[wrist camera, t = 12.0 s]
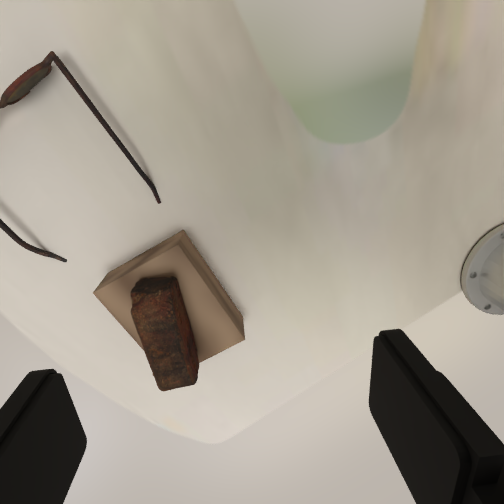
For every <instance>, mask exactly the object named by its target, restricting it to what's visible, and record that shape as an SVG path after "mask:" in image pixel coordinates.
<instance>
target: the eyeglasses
mask: <svg viewBox="0 0 504 504" xmlns="http://www.w3.org/2000/svg"><path fill="white" fill-rule="evenodd" d="M52 61H54V62H55V64H56V65H57V66H58V67H59V69H60V70H61V71H62V73H63V74H64V75H65V77H66V78H67V79H68V81H69V82H70V83H71V85H72V86H73V87H74V89H75V90H76V91H77V93H78V94H79V95H80V97H81V98H82V99H83V101H84V102H85V103H86V105H87V106H88V107H89V108H90V110H91V111H92V112H93V114H94V115H95V116H96V118H97V119H98V120H99V122H100V123H101V124H102V126H103V127H104V128H105V129H106V131H107V132H108V133H109V135H110V136H111V137H112V139H113V140H114V141H115V143H116V144H117V145H118V146H119V148H120V149H121V150H122V152H123V153H124V154H125V156H126V157H127V158H128V160H129V161H130V162H131V164H132V165H133V166H134V168H135V169H136V170H137V172H138V173H139V174H140V175H141V177H142V178H143V179H144V180H145V182H146V183H147V184H148V185H149V187H150V188H151V190H152V192H153V194H154V196H155V198H156V200H157V203H158V204H160V203H161V201H160V198H159V196H158V193H157V191H156V188H155V186H154V184H153V183H152V182H151V180H150V179H149V178H148V177H147V175H146V174H145V173H144V172H143V171H142V169H141V168H140V167H139V165H138V164H137V163H136V161H135V160H134V158H133V157H132V156H131V154H130V153H129V152H128V150H127V149H126V148H125V146H124V145H123V144H122V142H121V141H120V140H119V138H118V137H117V136H116V134H115V133H114V132H113V130H112V129H111V128H110V126H109V125H108V124H107V122H106V121H105V119H104V118H103V117H102V115H101V114H100V113H99V111H98V110H97V109H96V107H95V106H94V105H93V103H92V102H91V100H90V99H89V98H88V96H87V95H86V94H85V92H84V91H83V90H82V88H81V87H80V85H79V84H78V83H77V81H76V80H75V79H74V77H73V76H72V75H71V73H70V72H69V71H68V69H67V68H66V67H65V65H64V64H63V63H62V61H61V60H60V59H59V57H58V56H56V54H55V53H54V52H53V51H51V52H50V53H49V54H48V55H47V56H46V57H45V59H44V60H43V61H42V62H41V63H39V64H37V65H35V66H34V67H32V68H30V69H29V70H27V71H26V72H24V73H23V74H22V75H21V76H20V77H19V78H17V79H16V80H15V81H14V82H13V83H12V84H11V85H10V86H9V87H8V88H7V89H6V90H5V91H4V93H3V94H2V96H1V100H0V108H4V107H6V106H7V105H12V104H14V103H16V102H18V101H19V100H21V99H22V98H23V97H25V96H26V95H27V94H28V93H30V90H31V89H32V88H33V87H35V86H36V85H37V84H38V83H39V82H40V81H41V80H42V79H43V78H44V77H45V76H47V75H48V74H49V73H50V71H51V68H52V66H51V63H52ZM0 228H1V229H3V230H4V231H5V232H6V233H7V234H8V235H9V236H10V237H11V238H12V239H13V240H14V241H16V242H17V243H18V244H19V245H21V246H22V247H24V248H26V249H27V250H30V251H32V252H35V253H37V254H40V255H43V256H46V257H51V258H55V259H57V260H60V261H63V262H67V259H64V258H62V257H60V256H58V255H56V254H53V253H51V252H47V251H44V250H42V249H39V248H37V247H34V246H32V245H30V244H28V243H26V242H25V241H23V240H22V239H21V238H20V237H18V236H17V235H16V234H15V233H14V232H13V231H12V230H11V229H10V228H9V227H8V226H7V225H6V224H5V223H4V222H3V221H2V220H1V219H0Z"/></svg>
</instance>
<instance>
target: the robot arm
mask: <svg viewBox="0 0 504 504" xmlns="http://www.w3.org/2000/svg"><path fill="white" fill-rule="evenodd" d="M461 284H462V289H463V292H464V294H465V296H466V298H467V299H468V300H469V302H470V303H471V304H473V305H474V306H475V307H477V308H478V309H479V310H482V311H483V312H486V313H490V314H499V315H502V314H504V224H502V225H500V226H498V227H497V228H495V229H494V230H492V231H490V232H489V233H488V234H487V235H486V236H484V237H483V238H482V239H481V240H480V241H479V242H478V243H477V244H476V246H475V247H474V248H473V249H472V251H471V252H470V254H469V256H468V257H467V260H466V262H465V264H464V267H463V271H462V277H461ZM369 407H370V411H371V414H372V416H373V418H374V420H375V422H376V424H377V426H378V428H379V430H380V432H381V434H382V436H383V438H384V440H385V442H386V444H387V446H388V448H389V450H390V452H391V454H392V456H393V458H394V460H395V462H396V464H397V466H398V468H399V470H400V472H401V474H402V476H403V478H404V480H405V482H406V484H407V486H408V488H409V490H410V492H411V494H412V496H413V498H414V500H415V502H416V504H504V444H503V443H502V442H501V440H500V439H499V438H498V437H497V436H496V435H495V434H494V432H493V431H492V430H491V429H490V428H489V427H488V425H487V424H486V423H485V422H484V421H483V420H482V419H481V417H480V416H479V415H478V414H477V413H476V411H475V410H474V409H473V408H472V407H471V406H470V405H469V403H468V402H467V401H466V400H465V399H464V398H463V396H462V395H461V394H460V393H459V392H458V391H457V389H456V388H455V387H454V386H453V385H452V384H451V382H450V381H449V380H448V379H447V378H446V377H445V376H444V375H443V374H442V373H441V372H439V371H436V370H435V369H434V367H433V366H432V365H431V364H430V363H429V361H428V360H427V359H426V358H425V357H424V355H423V354H422V353H421V352H420V351H419V350H418V348H417V347H416V346H415V345H414V344H413V343H412V341H411V340H410V339H409V338H408V337H407V335H406V334H405V333H404V332H403V331H402V330H401V329H393V330H384V331H380V333H379V336H376V337H375V338H374V343H373V355H372V368H371V380H370V393H369ZM86 444H87V438H86V435H85V432H84V430H83V427H82V425H81V422H80V420H79V417H78V415H77V412H76V409H75V407H74V404H73V401H72V399H71V396H70V394H69V391H68V389H67V386H66V383H65V381H64V378H63V376H62V374H60V373H57V372H56V371H55V370H54V369H46V370H37V371H32V372H29V373H28V374H27V375H26V377H25V378H24V379H23V380H22V382H21V383H20V384H19V386H18V387H17V388H16V390H15V391H14V392H13V394H12V395H11V396H10V397H9V399H8V400H7V401H6V402H5V404H4V405H3V406H2V408H1V409H0V504H63V502H64V500H65V497H66V495H67V493H68V490H69V488H70V485H71V483H72V481H73V478H74V476H75V474H76V471H77V469H78V467H79V464H80V462H81V459H82V457H83V455H84V452H85V449H86Z"/></svg>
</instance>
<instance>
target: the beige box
mask: <svg viewBox="0 0 504 504" xmlns="http://www.w3.org/2000/svg"><path fill="white" fill-rule="evenodd" d="M163 276H164V277H171V276H174V277H176V278H177V280H178V283H179V287H180V290H181V293H182V297H183V300H184V304H185V307H186V311H187V314H188V317H189V320H190V324H191V328H192V331H193V335H194V340H195V345H196V348H197V355H198V359H199V363H200V362H202V361H204V360H206V359H208V358H210V357H212V356H214V355H216V354H218V353H220V352H222V351H224V350H226V349H227V348H229V347H231V346H233V345H235V344H237V343H239V342H241V341H243V340H245V335H244V324H243V316H242V315H241V313H240V312H239V310H238V309H237V307H236V306H235V305H234V303H233V302H232V300H231V299H230V297H229V296H228V294H227V293H226V291H225V290H224V288H223V287H222V286H221V284H220V283H219V281H218V280H217V278H216V277H215V275H214V274H213V272H212V271H211V269H210V268H209V267H208V265H207V264H206V262H205V261H204V259H203V258H202V256H201V255H200V253H199V252H198V250H197V249H196V248H195V246H194V245H193V243H192V242H191V240H190V239H189V237H188V236H187V234H186V233H185V231H184V230H183V231H181V232H179V233H177V234H176V235H174V236H172V237H170V238H169V239H167V240H165V241H163V242H162V243H160V244H158V245H156V246H155V247H153V248H151V249H149V250H148V251H146V252H144V253H142V254H141V255H139V256H137V257H135V258H134V259H132V260H130V261H128V262H127V263H125V264H123V265H121V266H120V267H118V268H116V269H114V270H113V271H111V272H109V273H108V274H107V275H106V276H105V278H104V279H103V280H102V282H101V283H100V284H99V286H98V287H97V288H96V289H95V291H94V292H93V294H94V295H95V296H96V297H97V298H98V299H99V300H100V302H101V303H102V304H103V305H104V306H105V307H106V308H107V310H108V311H109V312H110V313H111V314H112V315H113V316H114V317H115V319H116V320H117V321H118V322H119V323H120V324H121V325H122V326H123V328H124V329H125V330H126V331H127V332H128V333H129V334H130V335H131V337H132V338H133V339H134V340H135V341H136V342H137V343H138V345H139V346H140V347H141V348H142V349H143V346H142V343H141V341H140V338H139V336H138V333H137V330H136V327H135V325H134V322H133V319H132V316H131V312H130V311H131V308H132V299H131V295H130V292H131V290H132V288H133V287H134V286H135V283H136V282H138V281H139V280H141V279H143V278H148V279H149V278H152V277H163ZM143 350H144V349H143Z"/></svg>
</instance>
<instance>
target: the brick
mask: <svg viewBox="0 0 504 504" xmlns="http://www.w3.org/2000/svg"><path fill="white" fill-rule="evenodd" d="M130 295H131V299H132V308H131V311H130V312H131V316H132V319H133V322H134V325H135V327H136V330H137V333H138V336H139V338H140V341H141V343H142V346H143V349H144V351H145V354H146V357H147V359H148V362H149V364H150V367H151V369H152V372H153V376H154V377H155V380H156V383H157V386H158V388H159V389H160V390H161V391H167V390H171V389H175V388H180V387H185V386H190V385H194V384H195V383H196V381H197V378H198V369H199V359H198V355H197V348H196V345H195V340H194V335H193V331H192V328H191V324H190V320H189V317H188V314H187V311H186V307H185V304H184V300H183V297H182V293H181V290H180V287H179V283H178V280H177V278H176V277H174V276H171V277H164V276H163V277H152V278H149V279H148V278H143V279H141V280H139V281H138V282H136V283H135V286H134V287H133V288H132V290H131V292H130Z"/></svg>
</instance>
